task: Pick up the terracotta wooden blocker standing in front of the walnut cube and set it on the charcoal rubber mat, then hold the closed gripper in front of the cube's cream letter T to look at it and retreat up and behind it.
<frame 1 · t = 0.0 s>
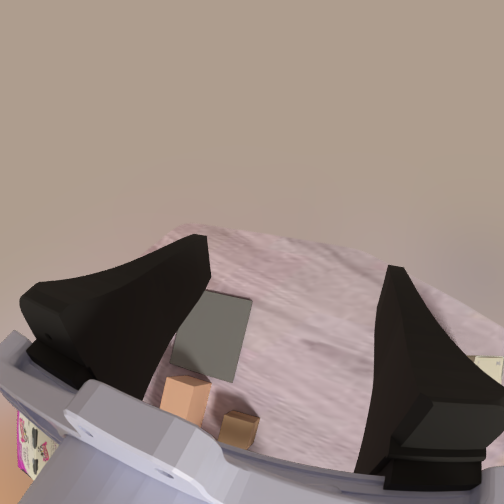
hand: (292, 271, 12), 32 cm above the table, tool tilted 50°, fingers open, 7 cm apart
skincare box: (448, 377, 35), on the table
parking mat: (210, 333, 45), on the table
candy bar box: (94, 433, 44), on the table
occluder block: (192, 410, 42), on the table
letter cube: (243, 426, 40), on the table
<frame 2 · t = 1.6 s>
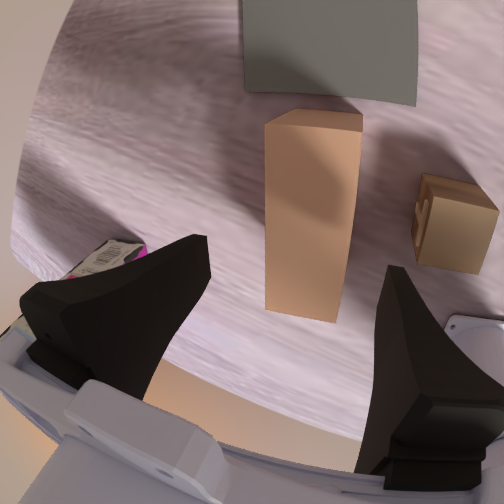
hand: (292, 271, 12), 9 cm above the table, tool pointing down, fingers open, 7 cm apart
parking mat: (329, 0, 13), on the table
candy bar box: (141, 286, 31), on the table
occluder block: (325, 188, 20), on the table
letter cube: (445, 208, 17), on the table
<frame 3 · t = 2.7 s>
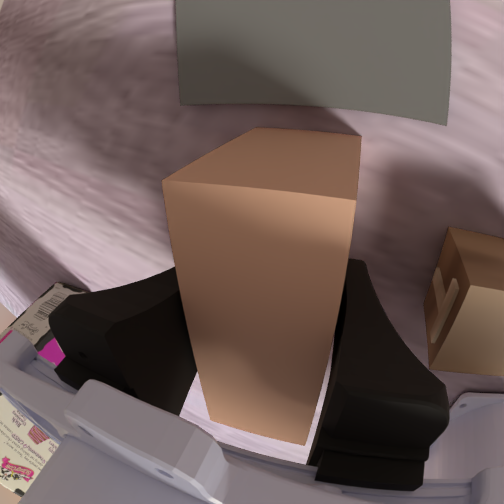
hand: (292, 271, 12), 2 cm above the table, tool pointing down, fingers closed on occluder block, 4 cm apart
candy bar box: (97, 333, 25), on the table
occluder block: (302, 245, 14), on the table, touching gripper
letter cube: (474, 273, 12), on the table
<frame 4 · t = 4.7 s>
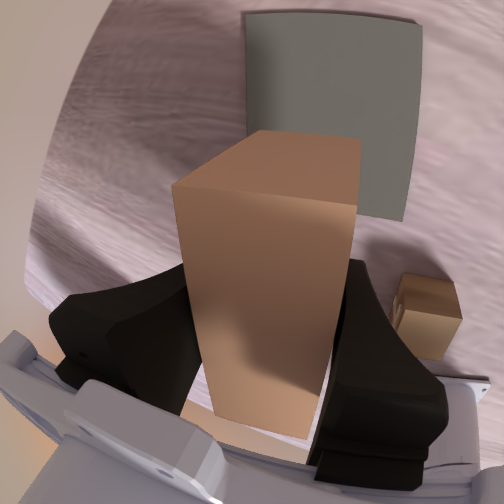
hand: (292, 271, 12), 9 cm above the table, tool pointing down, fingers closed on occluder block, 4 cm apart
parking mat: (331, 112, 17), on the table
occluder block: (303, 245, 14), point 7 cm above the table, touching gripper
letter cube: (420, 298, 21), on the table
when the fingers open (4 cm above the table, at t = 6.4 s): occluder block stays where it is, resting on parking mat.
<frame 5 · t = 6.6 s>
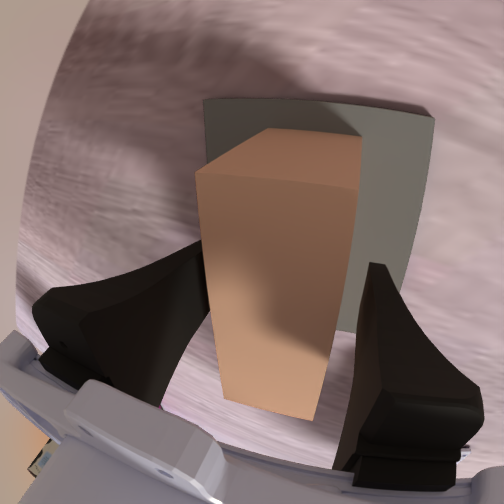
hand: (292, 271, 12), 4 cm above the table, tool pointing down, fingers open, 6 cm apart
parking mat: (310, 226, 15), on the table
candy bar box: (143, 392, 33), on the table
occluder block: (308, 236, 15), resting on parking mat
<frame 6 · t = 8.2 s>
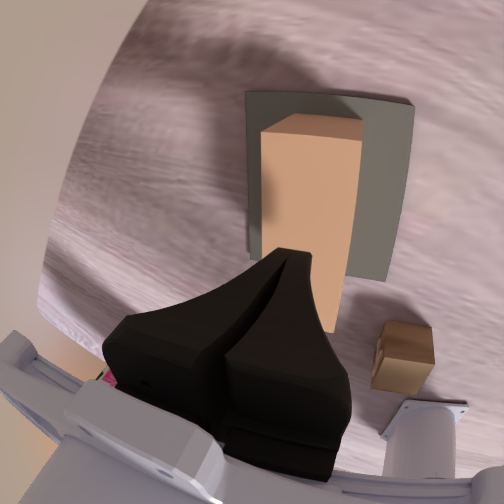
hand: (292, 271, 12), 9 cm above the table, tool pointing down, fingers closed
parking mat: (325, 188, 20), on the table
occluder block: (324, 195, 19), resting on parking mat
letter cube: (402, 340, 24), on the table
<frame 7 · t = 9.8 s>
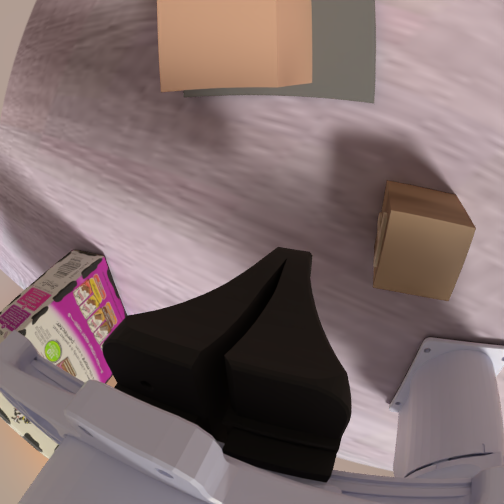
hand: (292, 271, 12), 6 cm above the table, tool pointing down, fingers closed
candy bar box: (107, 297, 30), on the table
letter cube: (414, 220, 16), on the table
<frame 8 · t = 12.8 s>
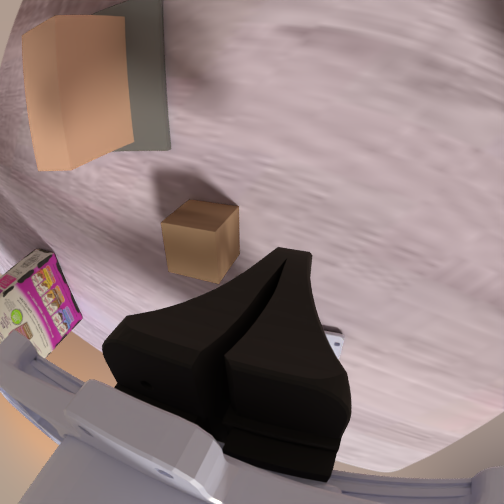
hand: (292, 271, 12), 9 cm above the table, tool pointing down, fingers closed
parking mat: (112, 78, 20), on the table
candy bar box: (60, 283, 38), on the table
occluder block: (108, 82, 20), resting on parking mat
letter cube: (214, 226, 24), on the table
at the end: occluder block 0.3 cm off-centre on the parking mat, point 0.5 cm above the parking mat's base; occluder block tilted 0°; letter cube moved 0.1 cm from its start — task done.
